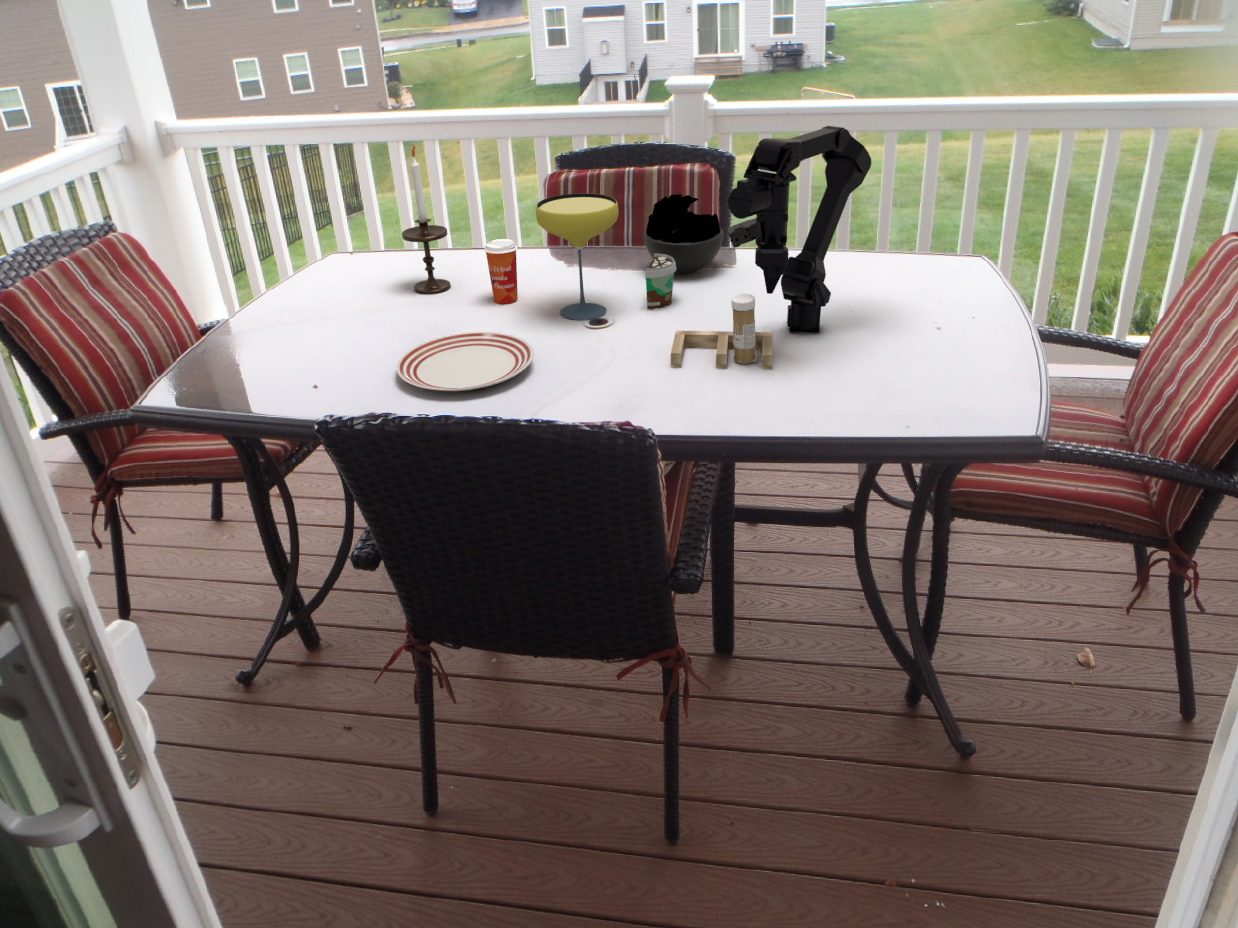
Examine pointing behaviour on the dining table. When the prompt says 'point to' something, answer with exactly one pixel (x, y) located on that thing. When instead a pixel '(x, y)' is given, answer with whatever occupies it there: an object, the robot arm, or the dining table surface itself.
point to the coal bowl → (683, 233)
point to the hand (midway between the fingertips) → (769, 285)
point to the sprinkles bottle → (743, 328)
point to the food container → (660, 281)
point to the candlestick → (425, 237)
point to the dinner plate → (465, 361)
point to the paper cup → (502, 270)
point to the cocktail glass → (578, 234)
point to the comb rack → (718, 345)
